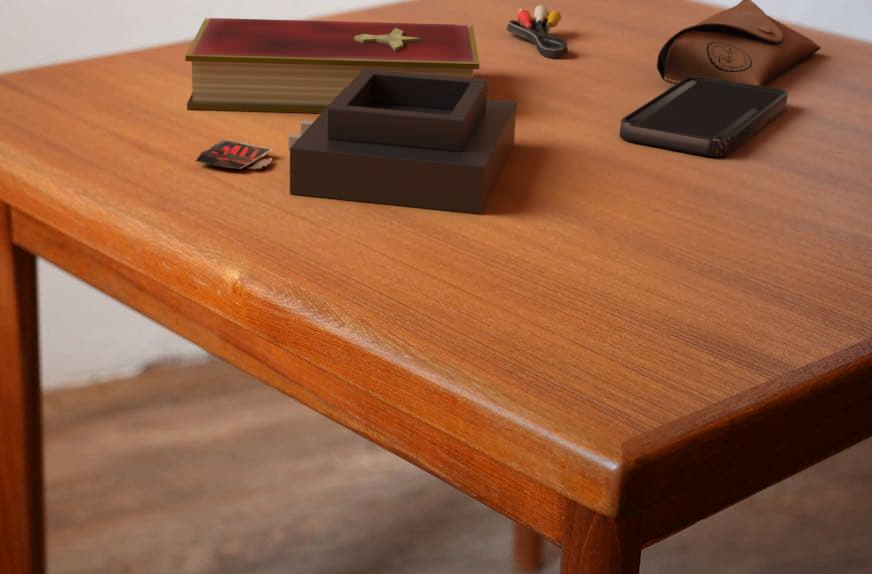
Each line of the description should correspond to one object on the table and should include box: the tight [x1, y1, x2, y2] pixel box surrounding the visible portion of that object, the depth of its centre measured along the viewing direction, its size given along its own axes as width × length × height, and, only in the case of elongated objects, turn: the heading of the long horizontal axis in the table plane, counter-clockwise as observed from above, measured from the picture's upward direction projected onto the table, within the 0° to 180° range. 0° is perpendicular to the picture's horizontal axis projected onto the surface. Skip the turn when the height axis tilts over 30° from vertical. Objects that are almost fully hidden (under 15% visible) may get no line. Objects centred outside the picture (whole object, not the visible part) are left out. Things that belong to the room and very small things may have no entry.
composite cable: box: [505, 4, 569, 59], centre depth 123 cm, size 10×5×2 cm, turn 179°
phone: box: [619, 76, 789, 157], centre depth 104 cm, size 8×1×15 cm
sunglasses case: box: [656, 0, 822, 87], centre depth 117 cm, size 18×7×7 cm
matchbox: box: [195, 139, 274, 170], centre depth 95 cm, size 5×5×1 cm
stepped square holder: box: [287, 69, 518, 215], centre depth 93 cm, size 14×14×5 cm
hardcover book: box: [185, 17, 480, 114], centre depth 109 cm, size 12×21×4 cm, turn 87°
